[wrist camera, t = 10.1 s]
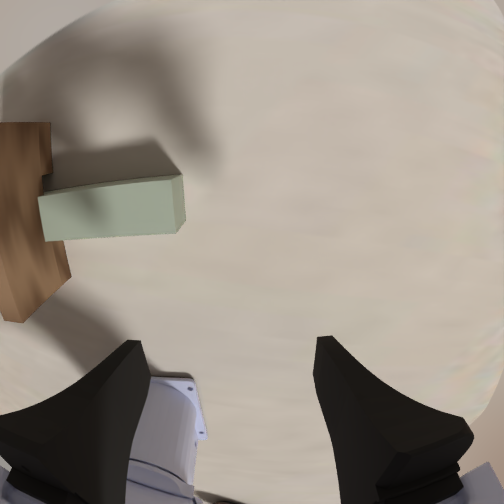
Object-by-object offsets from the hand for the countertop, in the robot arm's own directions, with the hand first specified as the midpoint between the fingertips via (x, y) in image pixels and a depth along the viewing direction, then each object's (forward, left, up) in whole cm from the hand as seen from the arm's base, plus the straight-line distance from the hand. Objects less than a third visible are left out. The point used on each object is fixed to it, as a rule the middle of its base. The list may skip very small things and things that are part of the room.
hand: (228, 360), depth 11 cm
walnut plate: (+6, +14, -9) cm, 18 cm away
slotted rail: (+5, +14, -9) cm, 18 cm away
